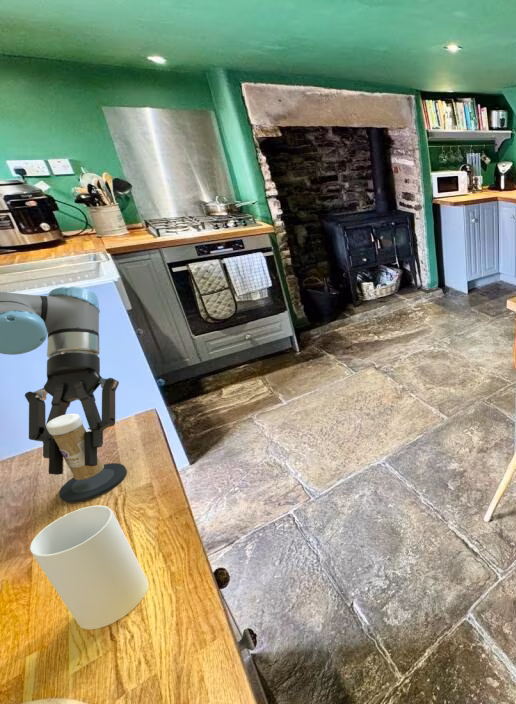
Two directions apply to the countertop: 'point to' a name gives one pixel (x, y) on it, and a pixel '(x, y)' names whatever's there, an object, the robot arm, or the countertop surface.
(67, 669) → the countertop surface
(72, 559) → the cup
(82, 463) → the sprinkles bottle
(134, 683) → the countertop surface
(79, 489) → the mat
